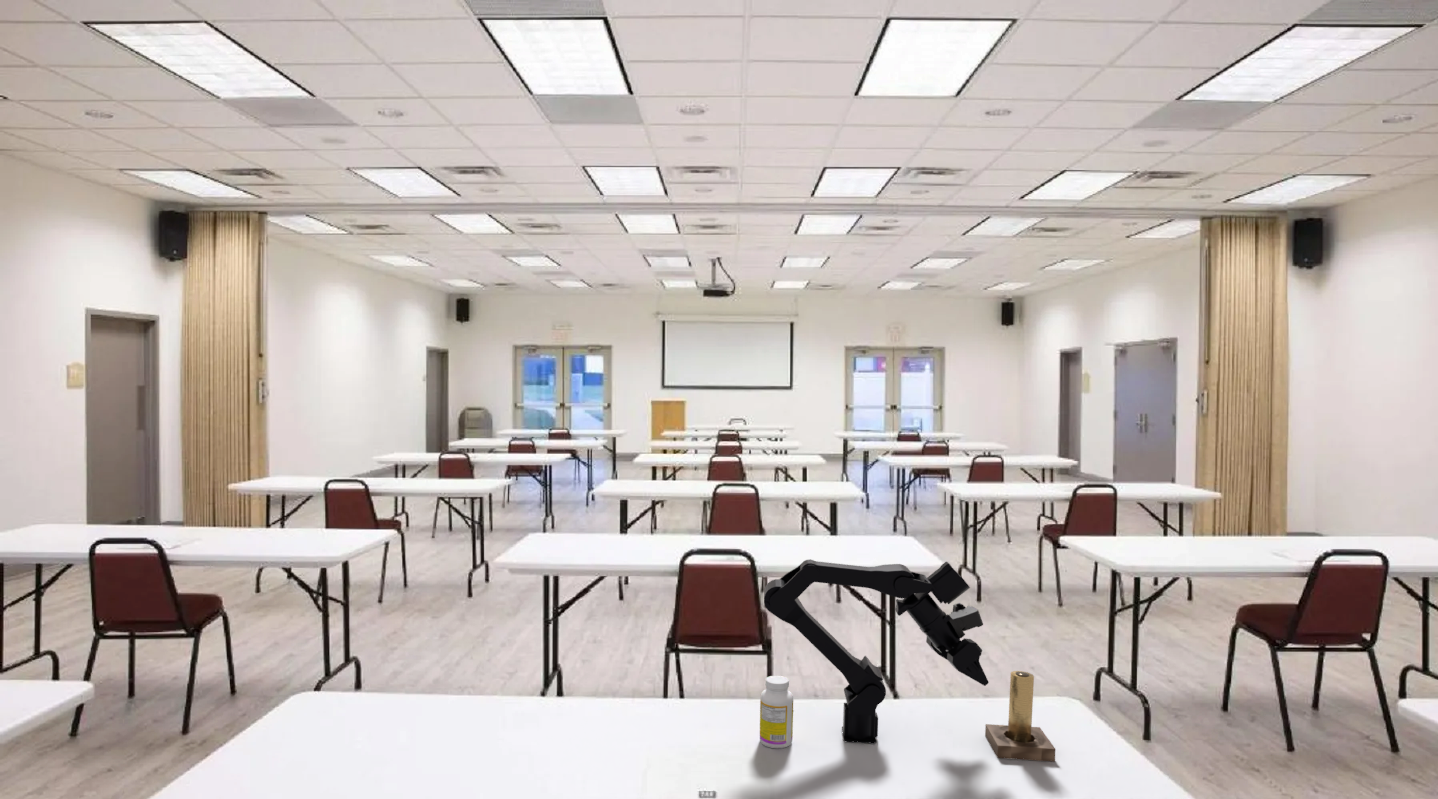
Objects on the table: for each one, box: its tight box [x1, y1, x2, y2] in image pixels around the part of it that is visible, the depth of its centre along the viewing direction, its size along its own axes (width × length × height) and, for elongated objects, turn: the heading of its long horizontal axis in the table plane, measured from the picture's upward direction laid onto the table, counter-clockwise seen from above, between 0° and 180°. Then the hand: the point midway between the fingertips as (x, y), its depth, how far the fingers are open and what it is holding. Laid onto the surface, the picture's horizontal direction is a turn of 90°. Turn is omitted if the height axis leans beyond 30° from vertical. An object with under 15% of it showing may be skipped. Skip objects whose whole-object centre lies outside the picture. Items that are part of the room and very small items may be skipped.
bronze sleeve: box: [1007, 670, 1035, 743], centre depth 167 cm, size 4×4×15 cm
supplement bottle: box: [759, 675, 794, 749], centre depth 167 cm, size 7×7×13 cm
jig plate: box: [984, 723, 1056, 763], centre depth 167 cm, size 11×10×2 cm
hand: (978, 677), depth 169 cm, fingers open, 9 cm apart
